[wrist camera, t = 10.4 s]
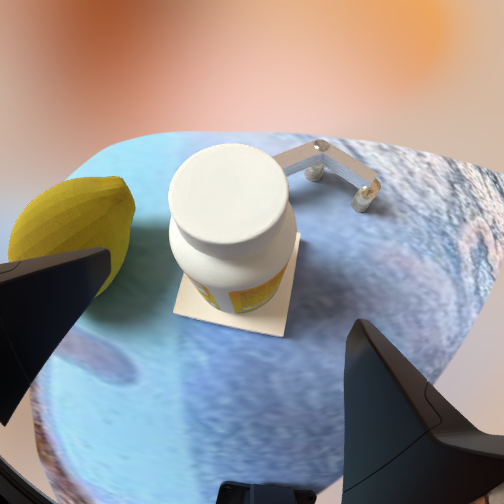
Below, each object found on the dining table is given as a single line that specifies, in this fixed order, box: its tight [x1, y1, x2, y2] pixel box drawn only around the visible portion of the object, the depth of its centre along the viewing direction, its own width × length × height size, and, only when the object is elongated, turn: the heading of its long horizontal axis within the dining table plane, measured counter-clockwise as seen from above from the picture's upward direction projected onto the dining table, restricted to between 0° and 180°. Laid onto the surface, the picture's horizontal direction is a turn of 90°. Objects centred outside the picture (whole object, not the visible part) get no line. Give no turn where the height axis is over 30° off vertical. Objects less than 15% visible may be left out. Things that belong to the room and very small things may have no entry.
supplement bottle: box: [168, 144, 297, 314], centre depth 13 cm, size 5×5×10 cm
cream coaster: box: [173, 232, 300, 338], centre depth 18 cm, size 7×7×1 cm
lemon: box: [8, 176, 135, 297], centre depth 15 cm, size 11×8×8 cm
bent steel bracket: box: [272, 139, 381, 213], centre depth 20 cm, size 4×9×4 cm, turn 78°
